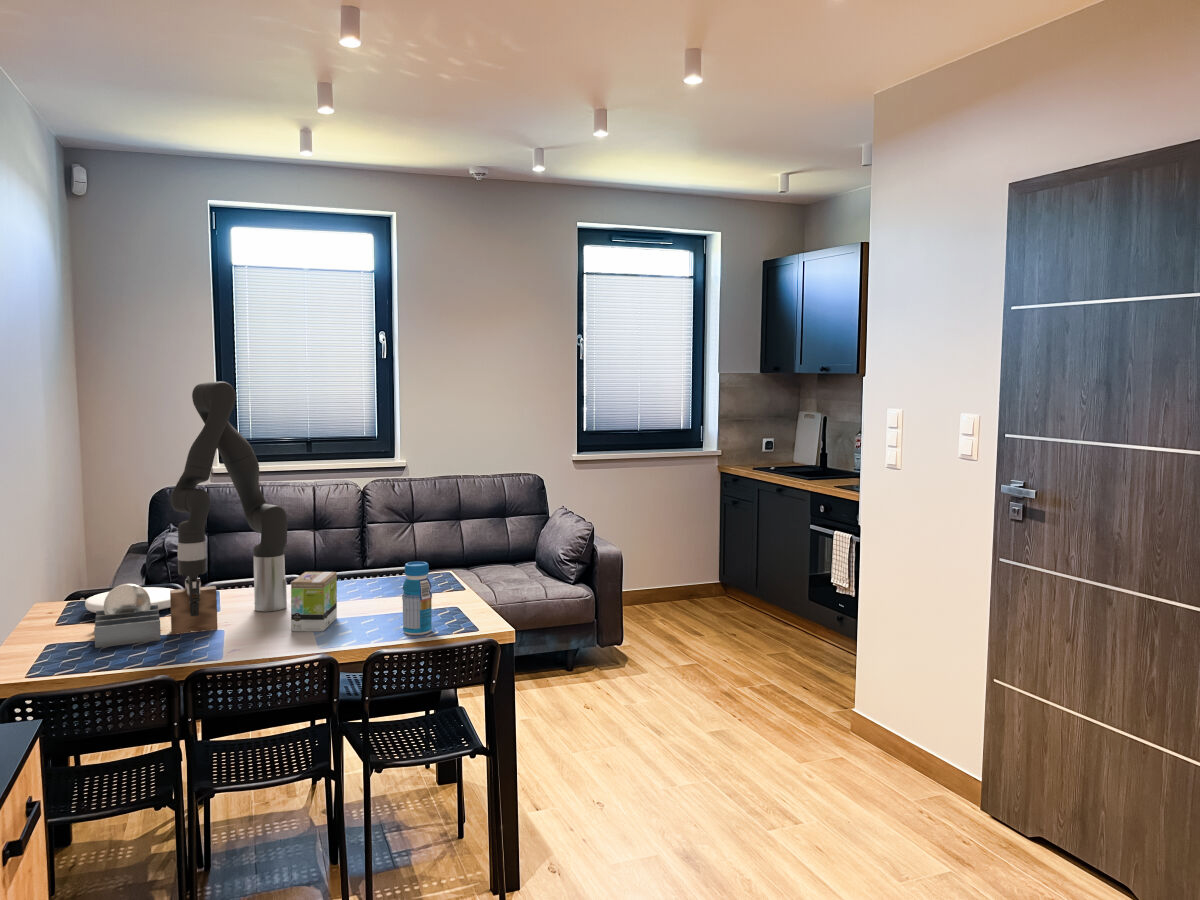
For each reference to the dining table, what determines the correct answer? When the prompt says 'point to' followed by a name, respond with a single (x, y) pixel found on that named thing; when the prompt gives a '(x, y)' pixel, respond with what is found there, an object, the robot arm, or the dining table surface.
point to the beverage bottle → (417, 599)
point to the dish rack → (127, 618)
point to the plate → (156, 594)
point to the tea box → (313, 601)
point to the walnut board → (181, 611)
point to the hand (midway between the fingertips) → (193, 612)
